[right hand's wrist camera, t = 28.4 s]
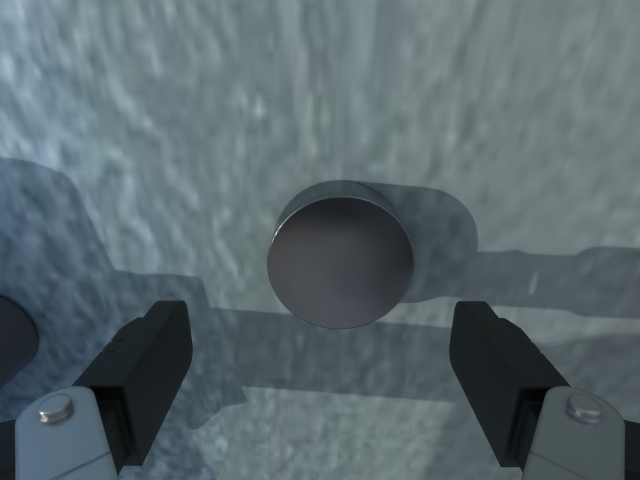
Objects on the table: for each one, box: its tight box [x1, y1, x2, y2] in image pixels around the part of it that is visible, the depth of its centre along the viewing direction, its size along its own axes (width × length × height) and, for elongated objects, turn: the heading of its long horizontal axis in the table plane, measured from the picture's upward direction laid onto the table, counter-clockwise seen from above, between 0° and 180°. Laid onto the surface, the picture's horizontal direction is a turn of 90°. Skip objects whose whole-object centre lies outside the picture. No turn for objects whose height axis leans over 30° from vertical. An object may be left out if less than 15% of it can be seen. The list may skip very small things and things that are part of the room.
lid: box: [267, 181, 414, 329], centre depth 15 cm, size 5×5×2 cm
